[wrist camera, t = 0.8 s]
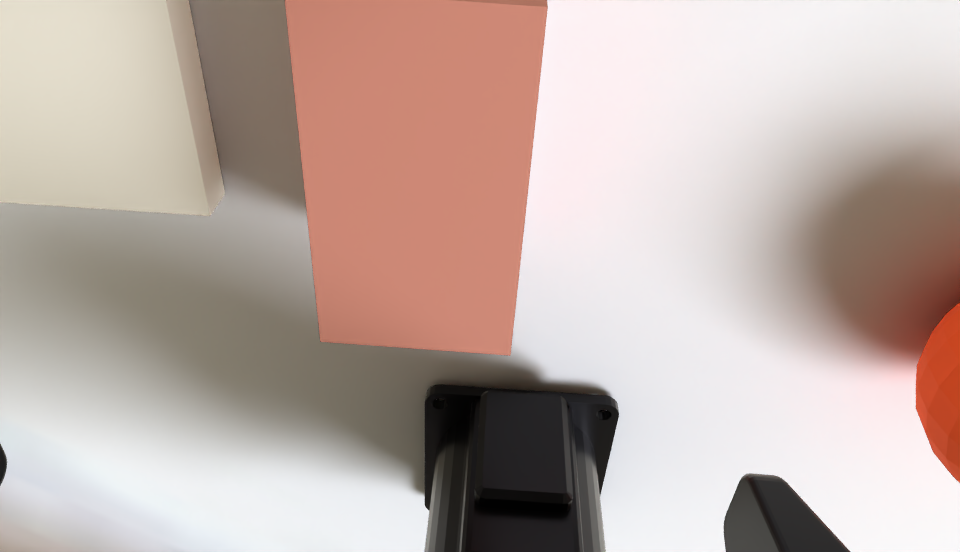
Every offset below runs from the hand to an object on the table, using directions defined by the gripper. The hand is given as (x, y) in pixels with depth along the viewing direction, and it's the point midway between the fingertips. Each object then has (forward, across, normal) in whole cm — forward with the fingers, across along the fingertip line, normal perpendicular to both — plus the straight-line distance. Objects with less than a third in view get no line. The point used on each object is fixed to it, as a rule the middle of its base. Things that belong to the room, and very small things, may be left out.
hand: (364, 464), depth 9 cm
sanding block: (+12, 0, 0) cm, 12 cm away
